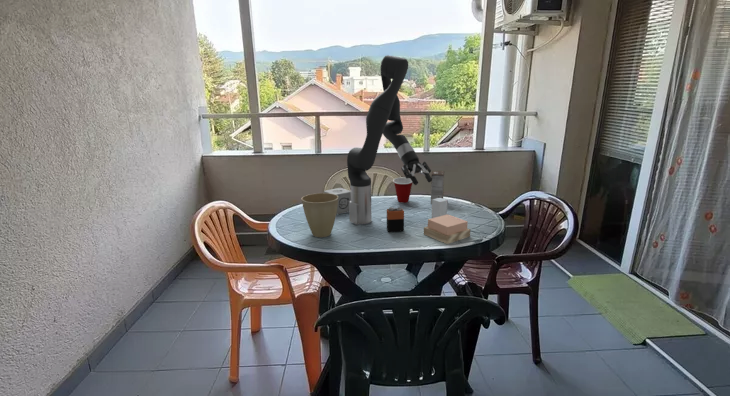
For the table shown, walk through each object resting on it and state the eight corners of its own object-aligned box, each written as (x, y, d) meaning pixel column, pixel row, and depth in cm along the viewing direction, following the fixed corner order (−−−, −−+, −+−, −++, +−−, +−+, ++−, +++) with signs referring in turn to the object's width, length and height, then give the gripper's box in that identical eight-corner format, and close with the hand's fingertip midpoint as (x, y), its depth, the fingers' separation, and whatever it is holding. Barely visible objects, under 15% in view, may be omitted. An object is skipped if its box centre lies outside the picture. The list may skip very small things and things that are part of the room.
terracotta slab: (447, 235, 144) (447, 227, 143) (427, 227, 152) (428, 219, 151) (467, 229, 149) (467, 221, 148) (447, 222, 158) (447, 214, 157)
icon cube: (341, 206, 192) (340, 187, 189) (352, 211, 184) (351, 191, 182) (324, 210, 187) (323, 190, 184) (335, 215, 179) (334, 195, 176)
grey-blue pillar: (439, 223, 165) (439, 201, 162) (431, 220, 169) (432, 199, 166) (446, 221, 168) (447, 200, 165) (438, 218, 172) (439, 197, 169)
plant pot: (346, 236, 152) (344, 198, 148) (311, 244, 145) (309, 204, 141) (330, 225, 165) (329, 190, 161) (298, 232, 158) (296, 195, 154)
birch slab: (447, 245, 143) (447, 236, 142) (423, 235, 154) (423, 227, 153) (469, 237, 150) (470, 229, 149) (445, 228, 161) (446, 220, 160)
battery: (386, 228, 160) (386, 206, 157) (402, 228, 161) (402, 205, 158) (388, 232, 156) (388, 209, 153) (404, 231, 156) (404, 209, 154)
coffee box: (431, 199, 201) (431, 170, 196) (443, 200, 200) (444, 170, 195) (430, 204, 192) (431, 174, 188) (443, 205, 191) (444, 174, 186)
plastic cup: (390, 203, 195) (390, 181, 192) (395, 198, 205) (395, 176, 202) (410, 205, 192) (411, 182, 188) (415, 199, 201) (415, 177, 198)
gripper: (399, 151, 171) (416, 180, 166) (422, 148, 179) (439, 175, 173) (392, 161, 177) (408, 189, 171) (414, 158, 185) (430, 184, 179)
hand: (423, 182), depth 172 cm, fingers open, 8 cm apart
